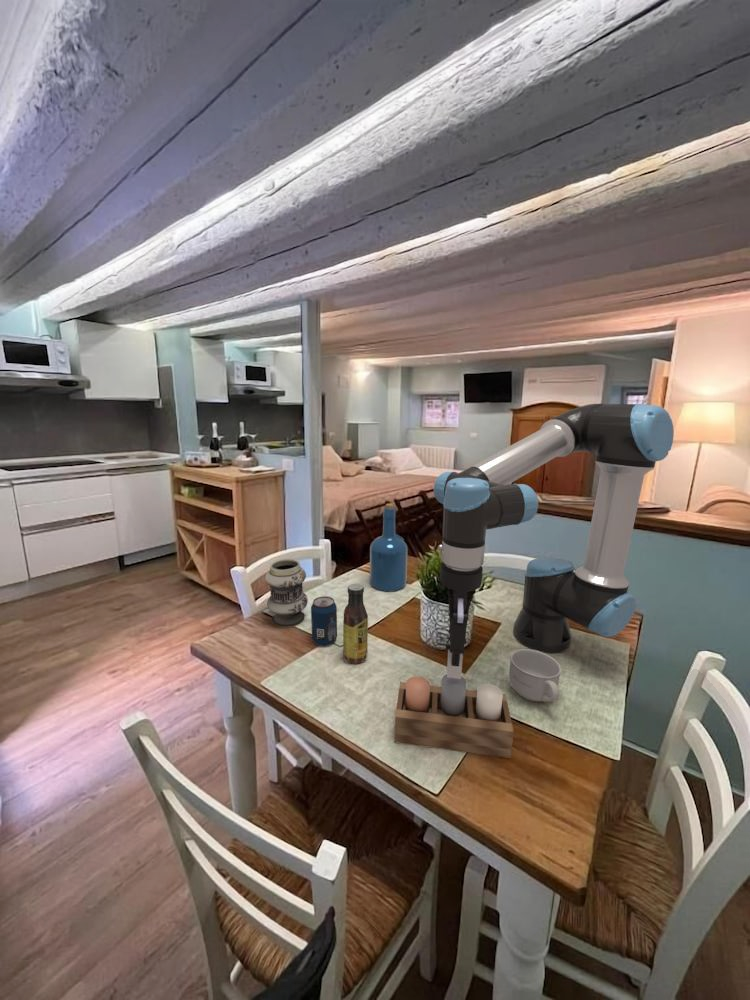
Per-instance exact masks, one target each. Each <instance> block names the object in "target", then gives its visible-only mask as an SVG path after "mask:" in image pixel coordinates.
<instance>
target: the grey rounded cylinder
mask: <svg viewBox="0 0 750 1000" xmlns="http://www.w3.org/2000/svg"><path fill="white" fill-rule="evenodd" d="M440 684H441V686H440V687H441V700H440V707H441V710H442V711H443V712H444V713H446V714H447V715H450V716H459V715H461V714H462V713H463V712H464V709H465V696H466V690H467V680H466V679H465V678H464V676H462V675H461V679H457V678H448V677H447V673H446V674H444V675H443V676H442V678H441V683H440Z"/></svg>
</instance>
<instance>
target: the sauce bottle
mask: <svg viewBox="0 0 750 1000" xmlns="http://www.w3.org/2000/svg"><path fill="white" fill-rule="evenodd" d="M364 593H365V587H364V585H362V584H361V583H351V584H349V585H348V586H347V595H348V601H347V605H346V606H345V608H344V610H343V623H342V631H343V633H342V636H343V637H342V642H343V643H342V646H343V647H342V650H343V658H344V661H346V662H347V663H348V664H353V665H357V664H360V663H363V662H364V661H365V660H366V659H367V655H368V636H369V634H368V633H369V632H368V631H369V630H368V628H369V626H368V625H369V624H368V623H369V622H368V621H369V616H368V615H369V614H368V612H367V610H366V605H365V604H364Z"/></svg>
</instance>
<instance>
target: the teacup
mask: <svg viewBox="0 0 750 1000" xmlns="http://www.w3.org/2000/svg"><path fill="white" fill-rule="evenodd" d="M561 674H562V666H561V665H560V663H559V662H558V661H557V660H556V659H555V658H554V657H552V656H551V655H549V654H547V653H546V652H541V651H537V650H534V649H531V648H529V649H528V648H521V649H517V650H514V651H513V652H512V653H511V654H510V663H509V671H508V679H509V682H510V684H511V687H512V689H514V690H515V691H516V692H517V694H518V695H520V696H521V697H522V698H524V699H526V700H527V701H528V700H529V701H531V702H532V701H533V702H542V701H543V702H555V701H556V702H557V701H558V699H559V697H560V689H559V686H558V685H559V681H560V676H561Z"/></svg>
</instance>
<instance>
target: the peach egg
mask: <svg viewBox="0 0 750 1000" xmlns="http://www.w3.org/2000/svg"><path fill="white" fill-rule="evenodd" d="M405 683H406V703H405V710H408V711H416V712H424V713H429V698H430V685H431V683H430V681H429V679H427V678H425V677H424V676H419V675H415V676H411V677H409V678H408V679H406V681H405Z"/></svg>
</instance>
